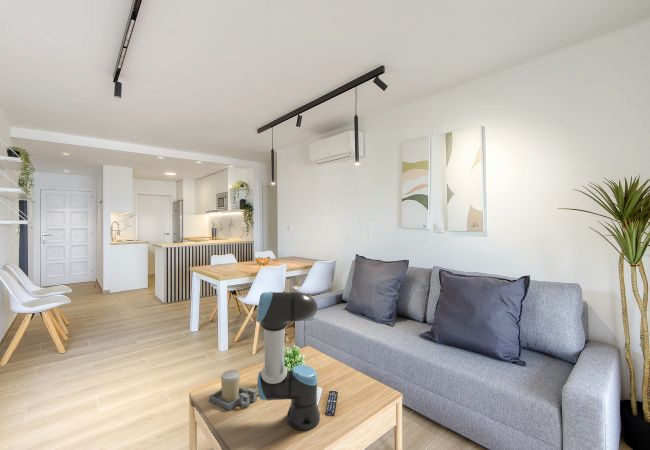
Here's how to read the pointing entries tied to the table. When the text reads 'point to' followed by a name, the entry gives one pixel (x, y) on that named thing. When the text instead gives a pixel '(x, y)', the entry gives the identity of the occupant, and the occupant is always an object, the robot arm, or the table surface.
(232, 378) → the coffee cup
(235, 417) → the table surface
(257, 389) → the lock pin
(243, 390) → the dock tray
